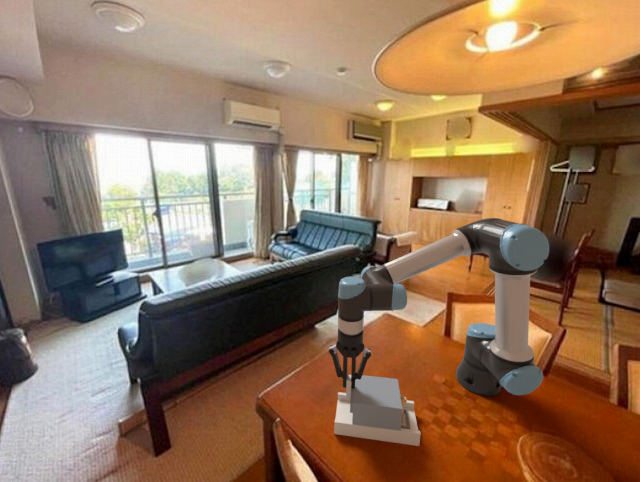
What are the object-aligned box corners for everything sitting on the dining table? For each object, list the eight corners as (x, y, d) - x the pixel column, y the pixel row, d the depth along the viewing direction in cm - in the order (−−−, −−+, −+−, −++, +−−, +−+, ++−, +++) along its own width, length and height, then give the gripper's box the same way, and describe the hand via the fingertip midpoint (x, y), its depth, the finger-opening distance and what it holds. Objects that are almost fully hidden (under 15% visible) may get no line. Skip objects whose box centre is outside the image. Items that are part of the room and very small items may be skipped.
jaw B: (403, 414, 90) (405, 393, 88) (405, 425, 86) (407, 403, 84) (387, 413, 90) (388, 392, 88) (388, 423, 87) (389, 402, 85)
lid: (396, 398, 93) (397, 379, 92) (400, 430, 82) (402, 408, 80) (351, 393, 96) (352, 374, 94) (349, 423, 84) (350, 402, 82)
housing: (412, 412, 94) (413, 401, 93) (419, 446, 82) (420, 433, 81) (337, 402, 97) (338, 392, 96) (334, 434, 86) (334, 422, 85)
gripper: (372, 323, 86) (369, 388, 92) (330, 320, 88) (329, 384, 94) (373, 337, 79) (369, 407, 84) (327, 333, 81) (326, 402, 86)
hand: (348, 395), depth 89 cm, fingers closed
